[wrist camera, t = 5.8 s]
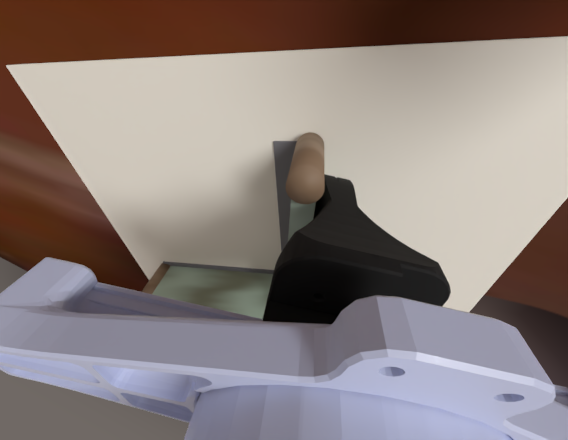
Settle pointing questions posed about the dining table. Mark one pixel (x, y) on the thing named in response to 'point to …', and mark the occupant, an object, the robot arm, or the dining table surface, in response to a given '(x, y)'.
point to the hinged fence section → (305, 180)
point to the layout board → (337, 147)
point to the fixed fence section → (213, 288)
